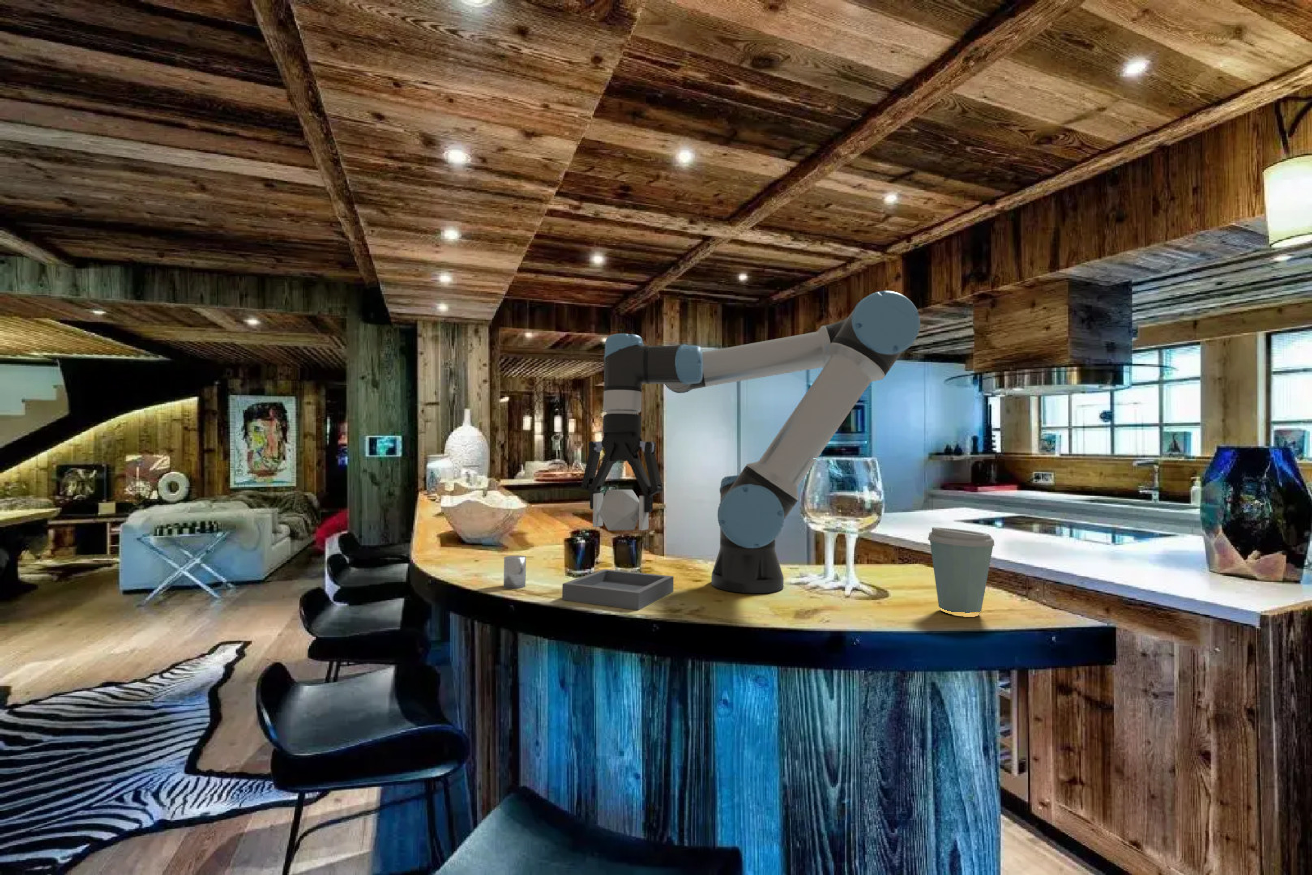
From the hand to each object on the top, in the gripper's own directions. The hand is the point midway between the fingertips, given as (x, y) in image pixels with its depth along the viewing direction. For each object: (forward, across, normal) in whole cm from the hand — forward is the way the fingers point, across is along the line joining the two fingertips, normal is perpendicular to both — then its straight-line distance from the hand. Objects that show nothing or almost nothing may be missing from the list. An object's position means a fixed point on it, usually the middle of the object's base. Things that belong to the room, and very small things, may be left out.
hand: (620, 527), depth 113 cm
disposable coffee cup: (+13, -60, -16) cm, 64 cm away
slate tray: (+13, 0, 0) cm, 13 cm away
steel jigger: (+13, +23, +3) cm, 27 cm away
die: (0, 0, 0) cm, 0 cm away
